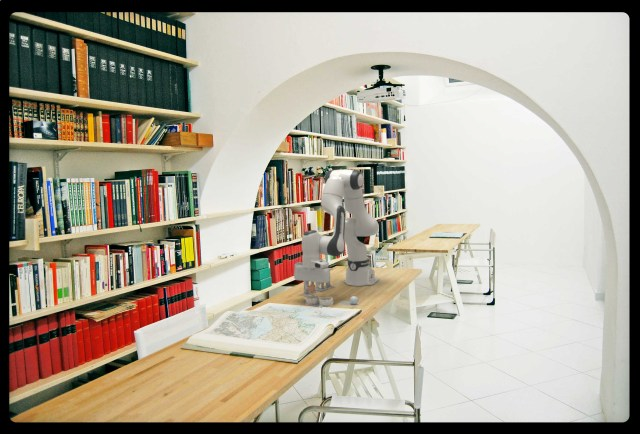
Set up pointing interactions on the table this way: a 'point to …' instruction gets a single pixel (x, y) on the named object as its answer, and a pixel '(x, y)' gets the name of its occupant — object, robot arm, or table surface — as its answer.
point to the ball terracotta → (311, 288)
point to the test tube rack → (323, 288)
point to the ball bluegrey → (353, 300)
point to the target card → (314, 304)
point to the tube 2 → (326, 301)
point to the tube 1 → (312, 299)
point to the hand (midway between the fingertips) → (312, 289)
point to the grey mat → (348, 303)
